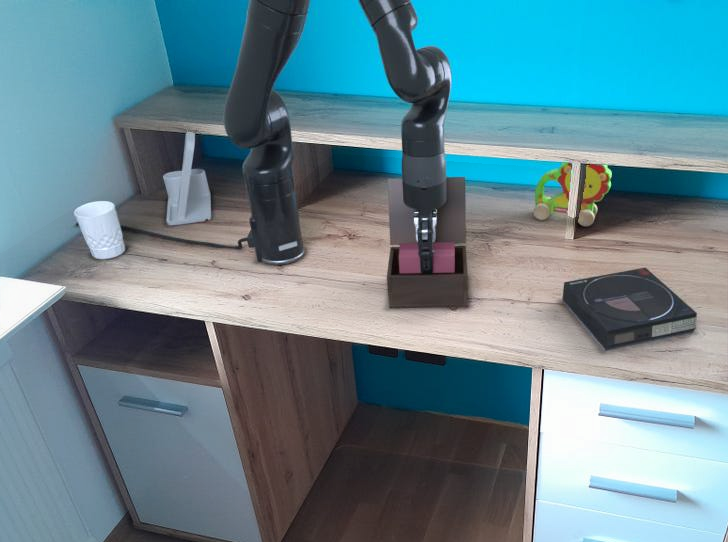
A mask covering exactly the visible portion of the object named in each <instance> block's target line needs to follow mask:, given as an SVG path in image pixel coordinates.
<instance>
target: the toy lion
mask: <svg viewBox="0 0 728 542" xmlns="http://www.w3.org/2000/svg"><path fill="white" fill-rule="evenodd" d="M571 170H572V164H571V163H563V162H562V163H561V165H560V166H559V168H554V169H551V170H549V171H547V172H545V173H544V174H542V176H541V177H540V179H539V181H538V183H537V185H536V187H535V195H534V203H535V204H534V205H535V206H534V208H533V216H534V217H535V218H536V219H537V220H539V221H545V220H548V218H549V216H550V215H552V214H557V213H559V214H566V215H568V214H567V211H568V202H569V192H570V182H571ZM612 173H613V172H612V170H611V169H610V168H609V166H608V164H607V165H594V164H590V165H587V166H586V179H585V184H584V192H583V199H582V204H581V210H580V213H579V219H578V221H577V223H578V224H579V225H580V226H582V227H591V226H592V225H593V223H594V221H595V219H596V215H597V213H598V206H597V204H596V203H597V202H600V201H602V200H603V198H604V196H605V195H606V194H608V193H609V191H610V189H611V186H612V181H611V179H612V176H613V174H612ZM550 181H555V182H556V183H558V184H559V185H560V186H561V188H562V192H560V193H557V194H555V195H554V196H552V197H550V196H548V195H545V185H546V183H548V182H550Z"/></svg>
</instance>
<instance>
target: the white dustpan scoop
mask: <svg viewBox="0 0 728 542" xmlns="http://www.w3.org/2000/svg"><path fill="white" fill-rule="evenodd" d="M186 130H187V129H186ZM187 131H188V130H187ZM195 143H196V132H195V133H193V132H187V133H186V132H185V139H184V149H183V159H182V168H181V170H175V171H169V172H166V173H165V174H163V176H162V179H163V182H164V186H165V190H166V193H167V207H166V208H167V209H166V219H165V221H166V224H167V226H177V225H178V226H179V225H184V224H185V225H186V224H192V223H193V224H194V223H199V222H200V223H201V222H205V221H206V220H208V221H210V220H211V219H212V201H211V200H212V199H211V197H212V196H211V191H210V187H209V183H208V179H207V178H208V177H207V175H206V171H205V170H204V169H202V168H192V167H193V159H194V154H195V153H194V152H195Z"/></svg>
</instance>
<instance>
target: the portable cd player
mask: <svg viewBox="0 0 728 542" xmlns="http://www.w3.org/2000/svg"><path fill="white" fill-rule="evenodd" d="M561 299H562V301H561V302H562V303H563V304H564V305H565V306H566V308H567V309H568V310H569V311H570V312H571V313H572V314H573V315H574V317H575V318H576V319H577V321H578V322H579V323H580V324H581V325H582V326H583V327H584V329H585V330H586V331H587V333H589V334H590V336H591V337H592V338H593V339H594V340H595V341H596V342H597V344H598V345H599V347H601V349H603V351H604V352H606V351H611V350H616V349H621V348H626V347H631V346H637V345H640V344H644V343H650V342H655V341H660V340H664V339H669V338H673V337H674V338H675V337H678V336H683V335H688V334H693V332H695V330H696V329H697V317H698V316H697V315H698V313H697V311H695V310H694V309H693V308H692V307H691V306H690V305H688V304H687V303H686V302H685V301H684V300H683V299H682V298H681V297H679V296H678V295H677V294H676V293H675V292H674V291H673V290H672V289H671V288H669V287H668V286H667V285H666V284H665V283H664V282H663V281H662V280H660V278H658V277H657V276H656V275H655V274H654V273H653V272H651V271H650V269H648V268H647V267H639V268H634V269H629V270H625V271H623V270H622V271H618V272H612V273H607V274H603V275H597V276H591V277H585V278H580V279H575V280H568V281H565V282H563V289H562V298H561Z"/></svg>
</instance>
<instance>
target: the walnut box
mask: <svg viewBox="0 0 728 542" xmlns="http://www.w3.org/2000/svg"><path fill="white" fill-rule="evenodd" d="M386 271H387V272H386V284H387V285H386V286H387V287H386V288H387V298H388V308H389V310H390V309H429V308H430V309H436V308H437V309H438V308H439V309H441V308H442V309H443V308H468V305H469V303H468V302H469V300H468V299H469V298H468V296H469V288H468V287H469V285H468V283H469V278H468V277H469V275H468V274H469V273H468V258H467V245H455V273H400V270H399V246H390V248H389V257H388V264H387V270H386Z"/></svg>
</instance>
